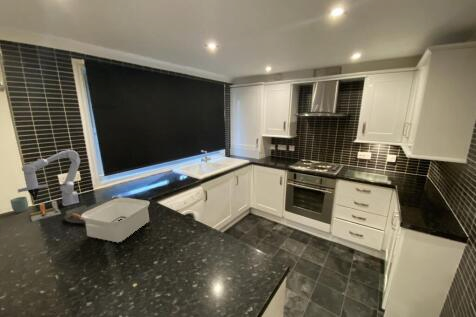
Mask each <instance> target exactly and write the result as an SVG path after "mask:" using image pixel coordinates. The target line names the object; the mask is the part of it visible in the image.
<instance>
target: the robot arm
mask: <svg viewBox="0 0 476 317" xmlns="http://www.w3.org/2000/svg"><path fill="white" fill-rule="evenodd" d="M67 158H68V159H69V161H70V162H71V164H70V166H69V169H68V172H67V173H66V174H67V175H66V177H65V180H64V182H62V184H61V185H60V187H59V189H60V191H61V198H62V202H61V204H62V206H64V207H65V206H66V207H67V206H70V205H74V204H78V203H79V202H80V201H79V196H78V192H77V191H74V186H75V184H74V183H75V182H74V181H75V178H76V175H77V173H78V170H79V167H80V164H81V158H80V154H79V153H78V152H77V151H75V150H72V149H65V150H62V151H60V152H58V153H56V154H54V155H51V156H49V157H47V158H37V160H35V161H33V162H29V164H25V165H23V166H22V167H21V171H22V172H23V175H24V181H25V185H26V187H22V188H18V189H17V193H23V192H27V193H29V194H30V195H31V197H32V198H33V200H34V201H35V200H37V199H38V193H39V191H40V189H44V188H48V184H45V183H44V184H39V182H38V178H37V174H36V171H38V170H40V169H42V168H44V167H47V166H48V165H49V163H52V162H54V161H57V160H59V159H67Z"/></svg>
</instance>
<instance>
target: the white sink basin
mask: <svg viewBox="0 0 476 317" xmlns="http://www.w3.org/2000/svg"><path fill="white" fill-rule="evenodd" d="M150 203H151V202H150V201H149V200H144V199H136V198H130V197H121V198H117V199H114V200H111V201H109V202H107V203H104V204H102V205H100V206H98V207H95V208H93V209H91V210H89V211H86V212H85V213H83V214H82V215H81V217H82V218H83V220H85V221H86V225H85V229H86V235H87V237H89V238H92V239H96V238H97V239H98V240H101V239H102V240H101V241H105V240H107V242H110V241H112V242H111V243H114V242H116V244H120V243H119V242H121V243H123V242H124V241H126V240H127V239H128V238H130V237H131V236H132V235H134V234H135V233H136V232H135V231H137V230H138V229H139V228H141V227H142V226H144V225H145V224H146V223H148V222H150V216H149V209H148V208H149V206H150ZM120 219H122V220H120ZM118 220H120V221H118ZM148 224H149V223H148ZM146 225H147V224H146ZM146 225H145V226H146ZM145 226H144V227H145ZM142 228H143V227H142ZM142 228H141V229H142ZM139 230H140V229H139ZM139 230H138V231H139ZM138 231H137V232H138ZM134 232H135V233H134ZM133 233H134V234H133ZM131 234H132V235H131ZM130 235H131V236H130ZM129 236H130V237H129ZM127 237H128V238H127ZM126 238H127V239H126ZM97 239H96V240H97ZM125 239H126V240H125ZM123 240H124V241H123ZM122 241H123V242H122Z"/></svg>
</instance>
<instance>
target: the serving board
mask: <svg viewBox="0 0 476 317" xmlns="http://www.w3.org/2000/svg"><path fill="white" fill-rule="evenodd" d="M117 198H122V197H121V196H113V197H112V198H111V197H110V198H107V199H103V200H102V201H99V202H97V203H94V204H91V205H89V206H86V207H84V208H81V209H79V210H76V211H74V212H71V213H68V214H66V215H65V216H63V218H64V220H65V221H66V222H69V223H72V224H83V225H84V226H86V221H85V220H83V218H82V217H81V215H82V214H83V213H85V212H86V211H89V210H91V209H93V208H95V207H98V206H100V205H102V204H104V203H107V202H109V201H111V200H114V199H117Z"/></svg>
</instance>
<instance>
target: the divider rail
mask: <svg viewBox="0 0 476 317" xmlns="http://www.w3.org/2000/svg"><path fill="white" fill-rule="evenodd" d="M51 205H52V208H47V209H46V213H47V212H51V211H55V210H56V211H58V210H59V206H58V203H57V200H52V201H51ZM39 214H41V210H40V211H36V212H33V213H30V217H31V216H35V215H39Z"/></svg>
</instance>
